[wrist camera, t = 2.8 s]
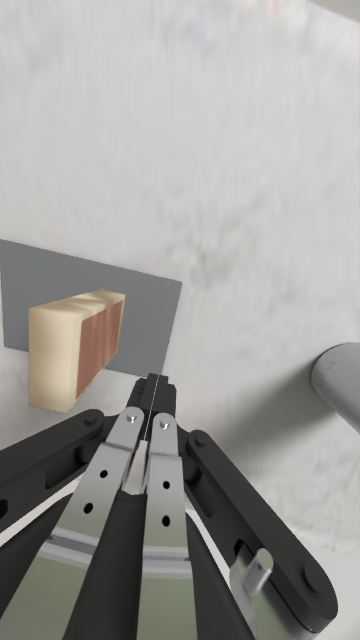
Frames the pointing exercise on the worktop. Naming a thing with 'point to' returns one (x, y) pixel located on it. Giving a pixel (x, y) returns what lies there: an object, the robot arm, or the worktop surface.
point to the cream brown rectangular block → (71, 346)
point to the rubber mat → (83, 277)
